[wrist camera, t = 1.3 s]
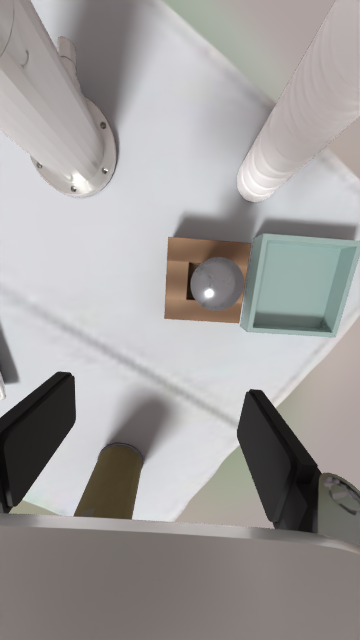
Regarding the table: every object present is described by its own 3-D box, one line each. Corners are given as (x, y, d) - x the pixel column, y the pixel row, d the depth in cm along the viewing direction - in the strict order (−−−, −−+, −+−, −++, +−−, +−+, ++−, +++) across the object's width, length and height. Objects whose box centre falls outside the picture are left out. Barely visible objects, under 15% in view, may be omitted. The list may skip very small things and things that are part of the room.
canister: (122, 435, 39) (67, 590, 20) (152, 463, 41) (130, 629, 22) (87, 459, 41) (5, 625, 21) (118, 485, 43) (68, 658, 23)
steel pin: (187, 263, 30) (193, 255, 18) (220, 266, 30) (247, 259, 18) (184, 297, 31) (189, 309, 19) (216, 299, 31) (239, 312, 19)
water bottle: (251, 146, 27) (966, -1117, 3) (285, 171, 28) (1057, -585, 3) (220, 201, 29) (463, -230, 4) (252, 224, 29) (608, -28, 5)
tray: (253, 238, 30) (263, 233, 26) (342, 245, 30) (363, 241, 27) (240, 326, 34) (247, 331, 30) (319, 331, 34) (335, 337, 31)
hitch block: (169, 243, 30) (168, 236, 25) (239, 248, 30) (251, 243, 25) (166, 312, 33) (164, 318, 28) (230, 316, 33) (239, 323, 28)
